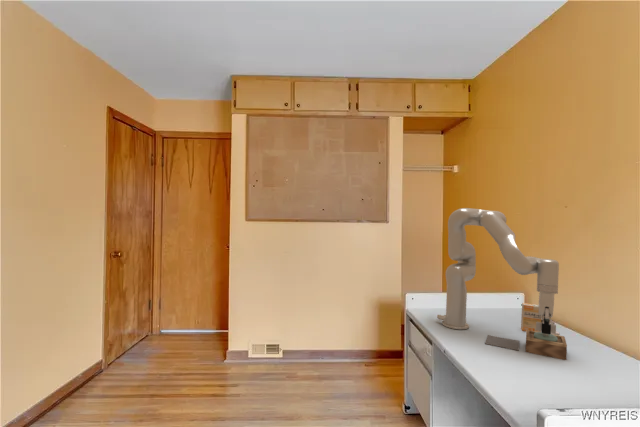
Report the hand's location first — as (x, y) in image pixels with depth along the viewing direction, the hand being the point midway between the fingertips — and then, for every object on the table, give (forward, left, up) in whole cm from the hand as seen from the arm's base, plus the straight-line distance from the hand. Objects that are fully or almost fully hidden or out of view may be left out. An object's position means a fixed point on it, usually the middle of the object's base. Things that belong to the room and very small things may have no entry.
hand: (545, 331), depth 150 cm
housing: (0, 0, -8) cm, 8 cm away
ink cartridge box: (+3, +18, -9) cm, 20 cm away
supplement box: (-5, +28, -9) cm, 30 cm away
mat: (-16, 0, -8) cm, 18 cm away
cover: (0, 0, -3) cm, 3 cm away
